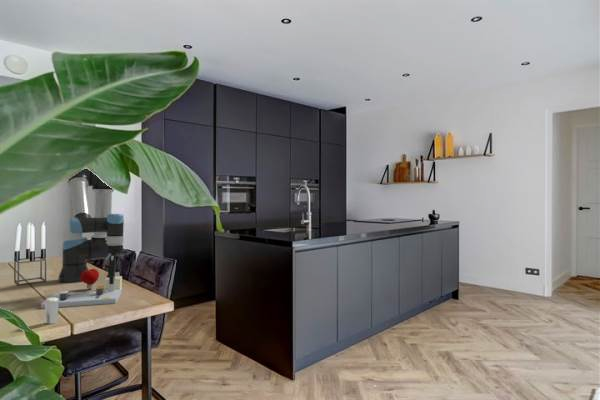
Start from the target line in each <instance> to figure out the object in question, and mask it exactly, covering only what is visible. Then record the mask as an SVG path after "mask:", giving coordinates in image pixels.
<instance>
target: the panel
mask: <svg viewBox="0 0 600 400" xmlns="http://www.w3.org/2000/svg"><path fill="white" fill-rule="evenodd" d="M121 295H122V290H121V289H120V290H115V291H108V290H105V289H104V293H103V294H99V295H96V290H89V291H88V290H87V291H76V292H72V291H71V292H68V298H67V299H66V300H60V298H59V296H60V292H59V293H56V292H55V293H53V294H51V295H50V296H49V297H48V298H54V297H56V298H59V306H58V308H66V307H67V308H68V307H69V308H70V307H81V306H93V305H95V306H96V305H108V304H109V305H110V304H117V302H118V300H119V298H120V296H121ZM40 309H45V304H44V301H42V302H41V303H40Z"/></svg>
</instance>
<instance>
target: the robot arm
mask: <svg viewBox="0 0 600 400" xmlns="http://www.w3.org/2000/svg"><path fill="white" fill-rule="evenodd" d="M68 179H69V178H68ZM67 183H68V184H67V185H68V187H69V189H70V192H71V193H70V194H71V203H72V204H71V205H72V206H71V207H72V215H73V216H72V217H71V218H70V219H69V223H68V224H69V232H70V233H72V234H87V233H90V234H91V233H93V234H92V235H91V236H90V237H91V239H88V238H87V237H84V236H83V237H75V238H70V239H66V240H64V241H63V243H62V249H61V250H62V261H61V262H62V265H61V270H60V272H59V273H58V274H59V275H58V280H57V282H60V283H76V282H83V281H82V280H81V274H82V273H83V272H84V271H85V270H89V267H88V264H87V263H88V261H90V260H91V261H92V260H94V261H95V260H106V259H107V260H109V261H108V272H107V275H106V278H107V277H109V283H108V291H115V276H120V273H121V272H122V269H121V267H120V266H121V265H120V253H121V254H122V253H123V252H124V245H123V244H124V225H125V224H124V223H125V219H124V218H125V217H124V214H122V213H112V205H113V204H112V202H113V197H112V196H113V192H114V191H115V190H113V189H112V188H110V187H109V186H107V185H106V184H105V183H103V182H102V181H101V180H100V179H99V178H98V177H97V176H96V175H94V174H93V173H92V172H91V171H89V170H88V169H84V170H82V171H81V172H79V173H78V174H76V175H75V176H73V177H72V178H70V179H69V180H67ZM89 187H92V188H91V190H92V191H93V192H94V217H92V215H91V208H90V199H89V192H88V188H89Z"/></svg>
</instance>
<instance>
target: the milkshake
mask: <svg viewBox="0 0 600 400" xmlns="http://www.w3.org/2000/svg"><path fill="white" fill-rule="evenodd" d="M59 298H60V296H59ZM59 298H56V297H54V298H49V297H48V298H46V299H45V300H44V301H43V302H44V304H45V308H44V312H45V313H44V314H45V323H46V324H47V325H51V324H56V323H57V322H58V316H59V315H58V314H59V307H58V306H59Z"/></svg>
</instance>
